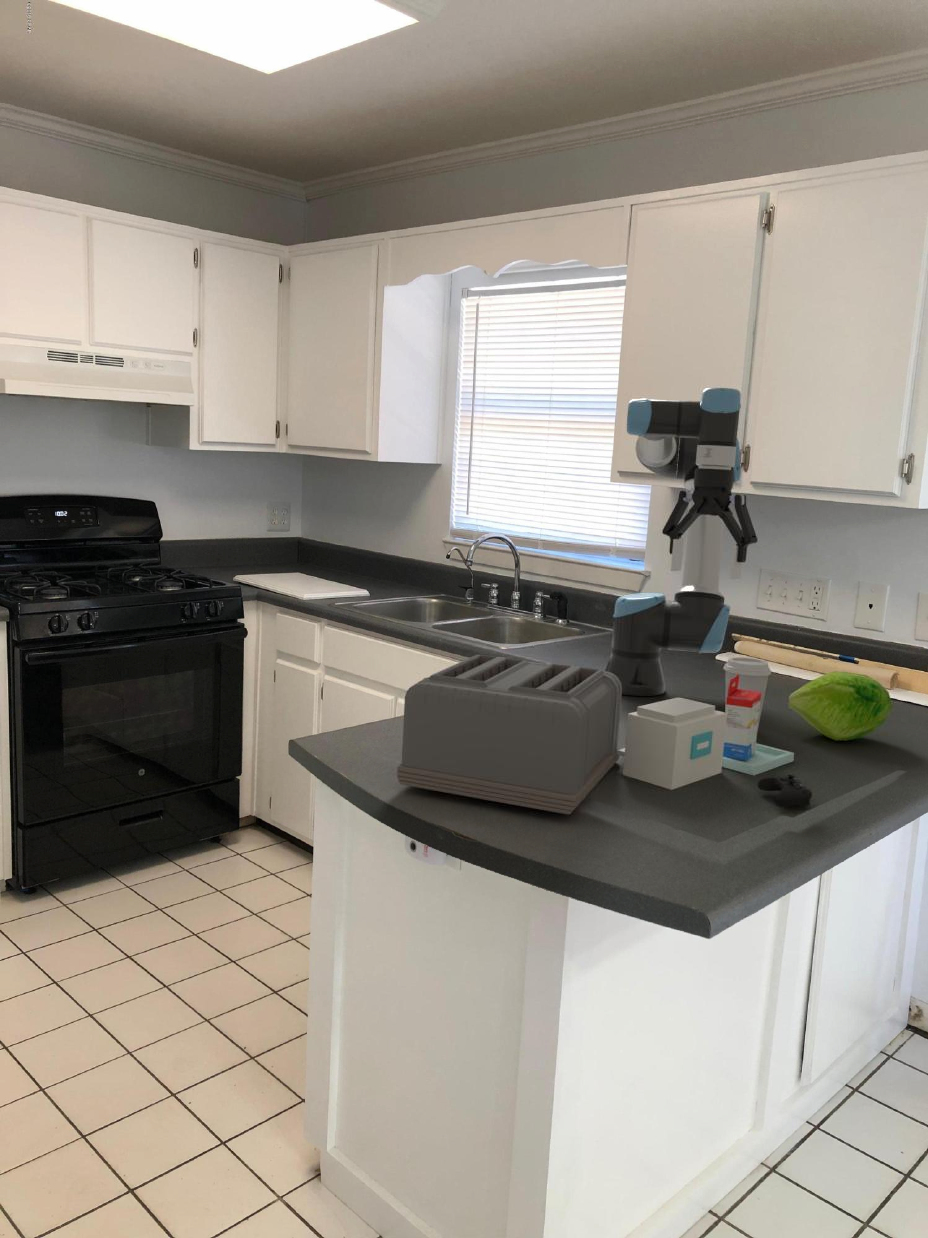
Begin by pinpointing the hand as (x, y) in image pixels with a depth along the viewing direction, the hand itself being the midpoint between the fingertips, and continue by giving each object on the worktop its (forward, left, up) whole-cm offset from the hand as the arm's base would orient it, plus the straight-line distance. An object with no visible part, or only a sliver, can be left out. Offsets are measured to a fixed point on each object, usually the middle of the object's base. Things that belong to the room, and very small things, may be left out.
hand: (704, 574), depth 204 cm
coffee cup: (+6, +10, -33) cm, 35 cm away
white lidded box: (+14, -28, -33) cm, 45 cm away
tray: (+16, -9, -33) cm, 37 cm away
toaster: (-4, -49, -33) cm, 59 cm away
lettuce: (+20, +24, -33) cm, 45 cm away
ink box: (+16, -9, -32) cm, 37 cm away
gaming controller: (+33, -27, -33) cm, 54 cm away
